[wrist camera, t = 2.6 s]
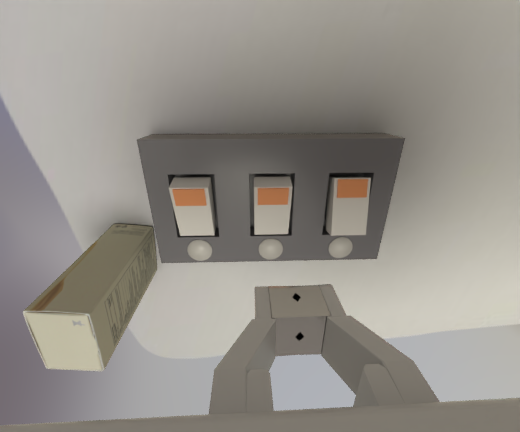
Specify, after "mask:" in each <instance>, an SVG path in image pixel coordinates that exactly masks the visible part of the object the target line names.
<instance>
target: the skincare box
mask: <svg viewBox="0 0 520 432" xmlns="http://www.w3.org/2000/svg"><path fill="white" fill-rule="evenodd" d="M156 271H157V262H156V250H155V240H154V233H153V227H148V226H138V225H126V224H113V225H112V226H111V227H110V228H109V229H108V230H107V231H106V232H105V233H104V234H103V235H102V236H101V237H100V238H99V239H98V240H97V241H96V242H95V243H94V244H93V245H92V246H91V247H90V248H88V249H87V250H86V251H85V252H84V253H83V254H82V255H81V256H80V257H79V258H78V259H77V260H76V261H75V262H74V263H73V264H72V265H71V266H70V267H69V268H68V269H67V270H66V271H65V272H63V274H61V275H60V276H59V277H58V278H57V279H56V280H55V282H53V283H52V284H51V285H50V286H49V287H48V288H47V289H46V290H45V291H44V292H43V293H42V294H41V295H40V296H39V297H38V298H37V299H36V300H35V301H34V302H33V303H31V305H29V306H28V307H27V308H26V309H25V310H24V311H23V314H24V317H25V320H26V323H27V325H28V328H29V331H30V333H31V335H32V337H33V340H34V342H35V344H36V347H37V349H38V351H39V353H40V356H41V358H42V360H43V362H44V364H45V366H46V368H47V369H66V370H86V371H103V370H104V369H105V367H106V366H107V363H108V362H109V360H110V358H111V356H112V354H113V352H114V350H115V348H116V346H117V345H118V343H119V341H120V339H121V337H122V335H123V333H124V331H125V329H126V328H127V326H128V324H129V322H130V320H131V318H132V316H133V314H134V312H135V310H136V309H137V307H138V305H139V303H140V301H141V299H142V297H143V295H144V293H145V291H146V290H147V288H148V286H149V284H150V282H151V280H152V278H153V276H154V275H155V273H156Z"/></svg>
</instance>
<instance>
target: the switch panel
mask: <svg viewBox="0 0 520 432" xmlns="http://www.w3.org/2000/svg"><path fill="white" fill-rule="evenodd" d="M404 140H405V138H402V137H398V136H394V135H390V134H385V133H334V134H152V135H149V136H146V137H143V138H140V139H137V143H138V148H139V153H140V158H141V163H142V168H143V173H144V178H145V183H146V188H147V193H148V198H149V203H150V208H151V213H152V218H153V223H154V228H155V233H156V238H157V243H158V248H159V253H160V258H161V263H187V262H238V261H290V260H341V259H377V255H378V251H379V247H380V243H381V238H382V234H383V230H384V225H385V221H386V217H387V213H388V208H389V204H390V200H391V196H392V191H393V187H394V183H395V178H396V174H397V170H398V166H399V161H400V157H401V153H402V148H403V144H404ZM287 176H290V179H291V183H292V186H293V188H292V198H291V209H290V219H289V229H288V234H265V235H255V233H254V177H287ZM359 176H362V177H369V178H371V182H370V194H369V205H368V216H367V227H366V235H336V236H331V235H330V234H329V233H328V232H327V231H326V212H327V193H328V180H329V177H359ZM183 177H211V184H212V192H213V200H214V208H215V216H216V229H215V235H204V236H180V233H179V228H178V224H177V220H176V216H175V212H174V208H173V204H172V200H171V196H170V192H169V186H170V184H171V182H172V180H173V178H183Z"/></svg>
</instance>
